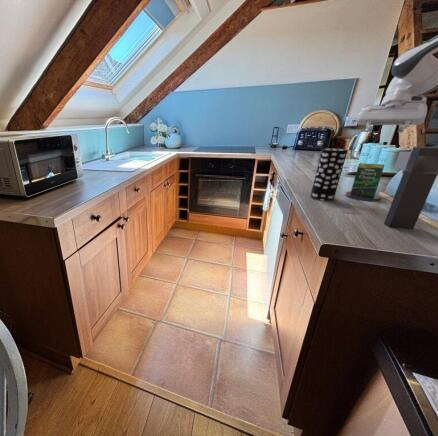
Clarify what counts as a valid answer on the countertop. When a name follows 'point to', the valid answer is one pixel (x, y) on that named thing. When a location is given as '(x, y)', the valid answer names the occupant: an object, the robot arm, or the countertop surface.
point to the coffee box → (367, 179)
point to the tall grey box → (412, 186)
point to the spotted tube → (328, 174)
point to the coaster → (361, 197)
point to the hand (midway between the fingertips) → (384, 131)
